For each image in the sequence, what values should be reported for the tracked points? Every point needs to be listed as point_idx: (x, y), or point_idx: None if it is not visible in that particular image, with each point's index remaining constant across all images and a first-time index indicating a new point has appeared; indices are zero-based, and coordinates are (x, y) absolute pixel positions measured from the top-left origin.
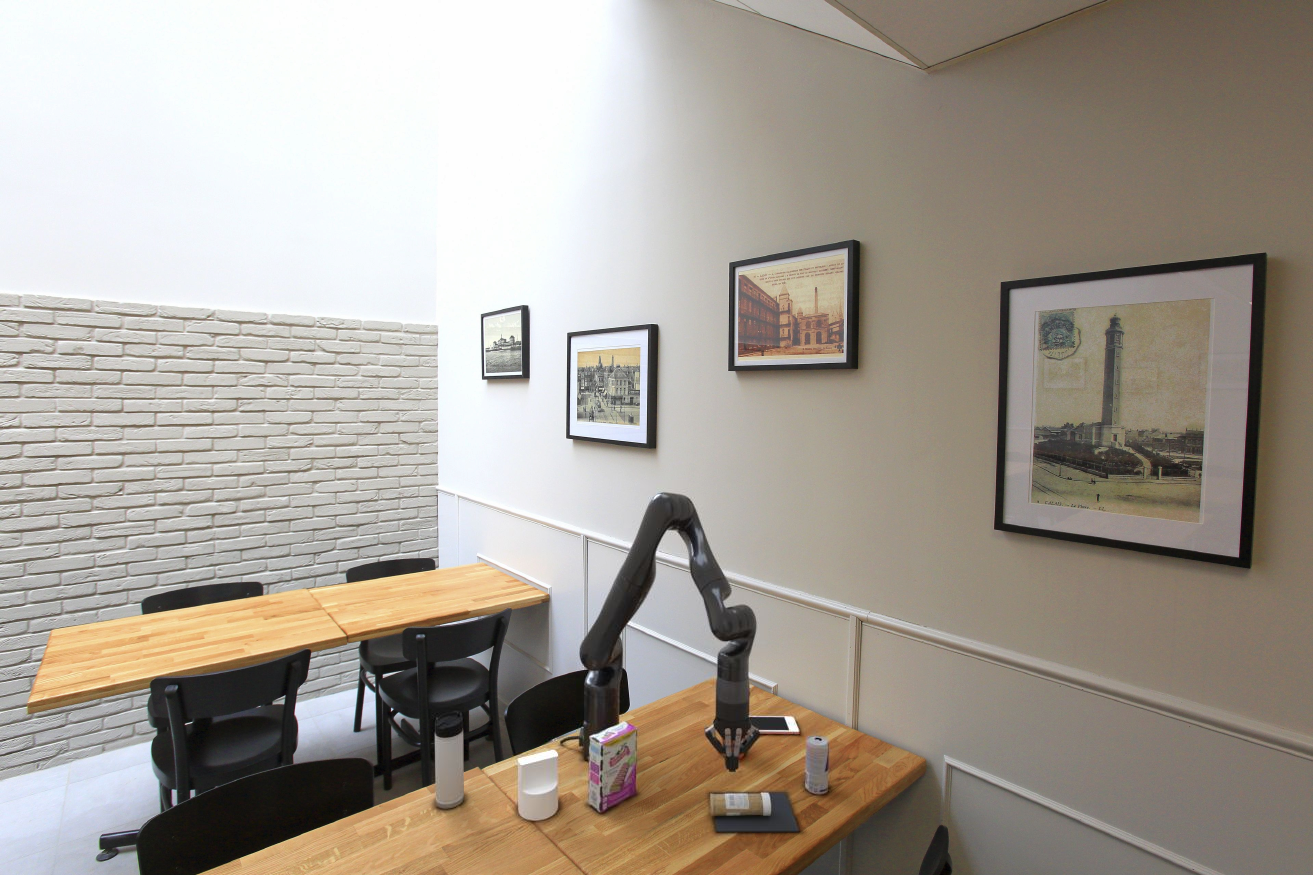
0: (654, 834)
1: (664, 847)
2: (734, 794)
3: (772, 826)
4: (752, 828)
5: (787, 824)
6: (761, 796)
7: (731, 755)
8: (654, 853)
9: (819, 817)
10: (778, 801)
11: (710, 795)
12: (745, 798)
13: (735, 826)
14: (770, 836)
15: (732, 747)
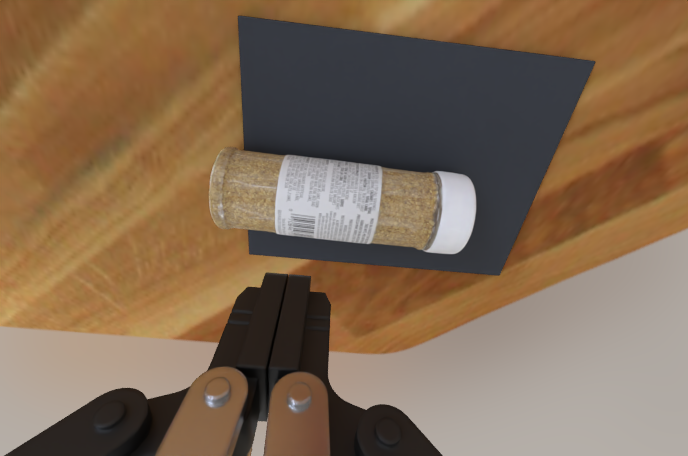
0: (53, 238)
1: (100, 287)
2: (319, 212)
3: (429, 253)
4: (363, 255)
5: (480, 250)
6: (433, 236)
7: (258, 416)
8: (78, 302)
9: (605, 220)
10: (522, 128)
11: (209, 195)
12: (361, 235)
13: (312, 241)
14: (406, 278)
15: (269, 408)
